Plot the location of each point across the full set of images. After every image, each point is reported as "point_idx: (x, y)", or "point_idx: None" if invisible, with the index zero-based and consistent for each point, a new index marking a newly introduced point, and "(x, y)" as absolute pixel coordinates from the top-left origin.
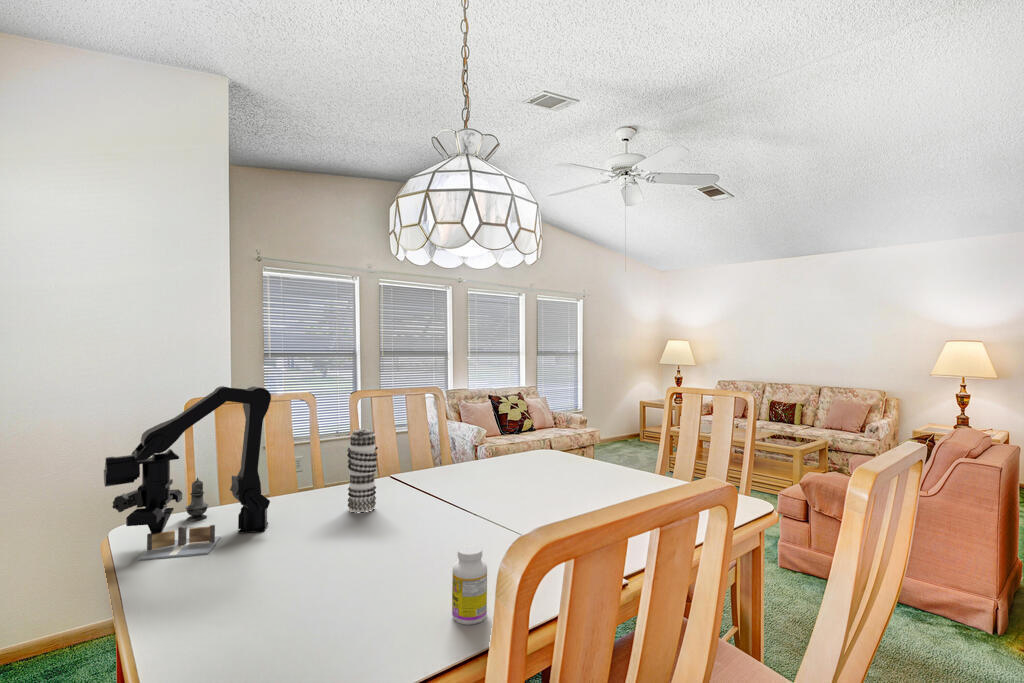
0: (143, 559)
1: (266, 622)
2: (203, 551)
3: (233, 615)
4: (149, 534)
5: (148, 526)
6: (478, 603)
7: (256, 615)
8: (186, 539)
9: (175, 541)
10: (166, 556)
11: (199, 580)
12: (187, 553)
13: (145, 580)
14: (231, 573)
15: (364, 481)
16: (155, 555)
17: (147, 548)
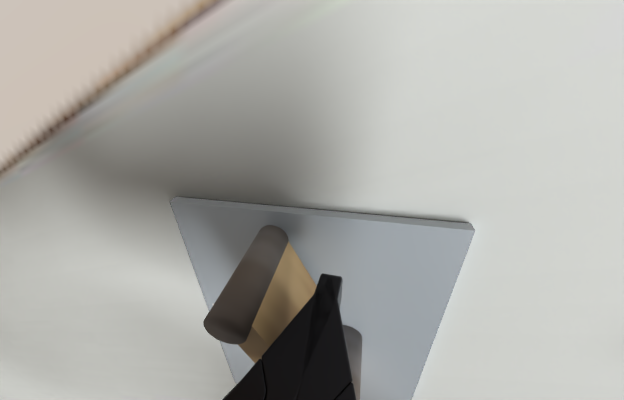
0: (181, 221)
1: (9, 389)
2: (244, 375)
3: (3, 371)
4: (215, 326)
5: (228, 395)
6: None
7: (17, 386)
8: (419, 348)
9: (407, 315)
10: (205, 296)
11: (80, 351)
12: (229, 346)
13: (32, 262)
14: (126, 388)
15: None
16: (212, 263)
17: (256, 236)
